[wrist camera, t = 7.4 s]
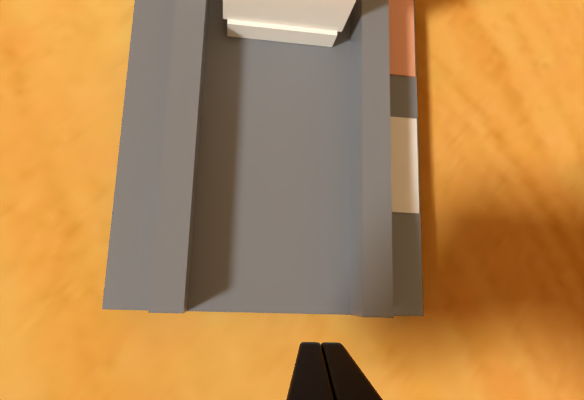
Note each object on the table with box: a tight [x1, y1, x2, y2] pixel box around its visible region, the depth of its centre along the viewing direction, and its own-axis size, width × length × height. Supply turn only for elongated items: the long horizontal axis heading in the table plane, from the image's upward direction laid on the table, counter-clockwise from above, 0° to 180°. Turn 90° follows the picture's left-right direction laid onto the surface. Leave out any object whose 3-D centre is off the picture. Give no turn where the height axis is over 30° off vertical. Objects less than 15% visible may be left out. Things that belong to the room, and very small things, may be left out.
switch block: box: [102, 0, 423, 318], centre depth 20 cm, size 16×13×3 cm
